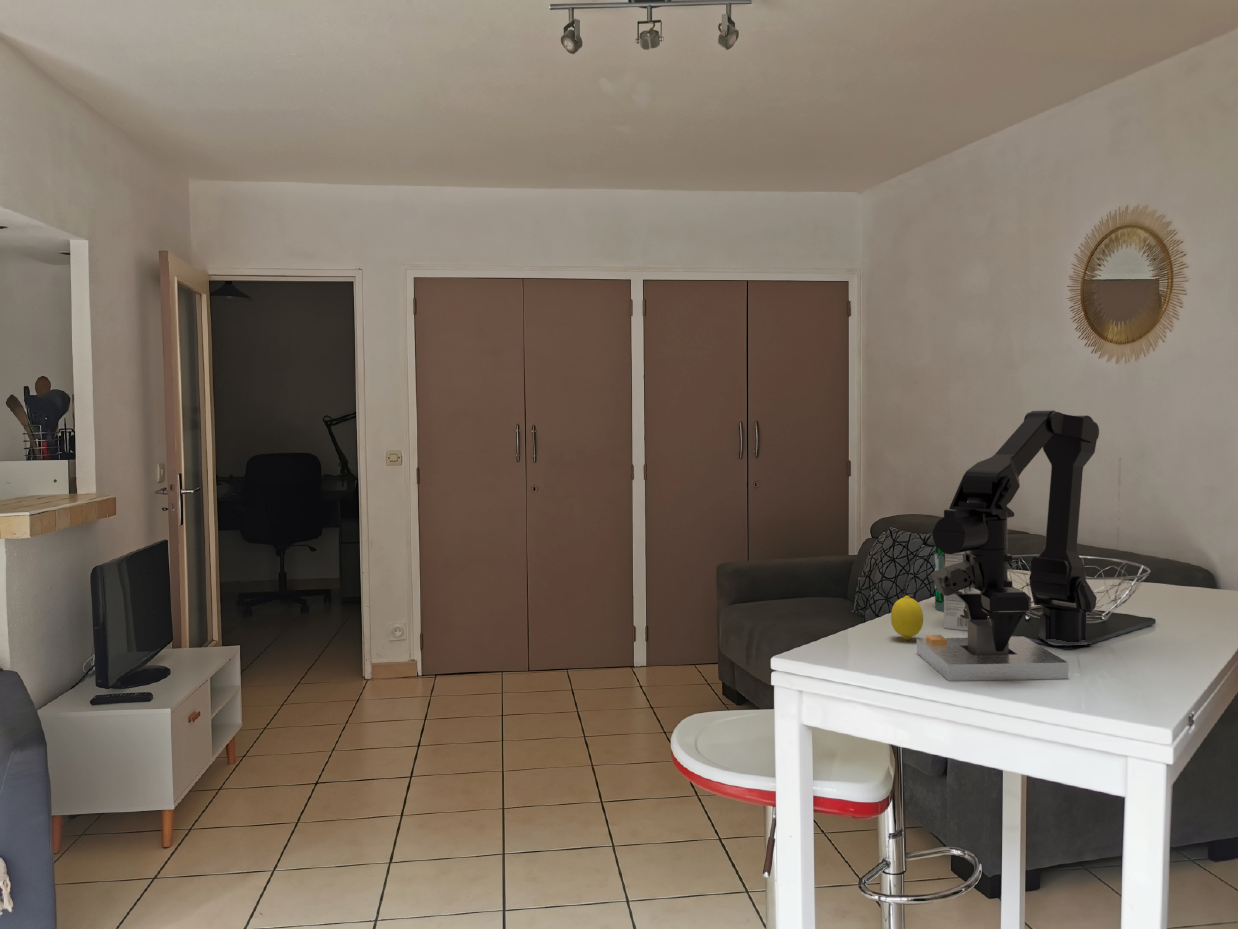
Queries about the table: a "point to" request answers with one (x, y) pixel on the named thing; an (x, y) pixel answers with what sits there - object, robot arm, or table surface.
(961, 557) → the coffee box
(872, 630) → the table surface
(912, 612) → the lemon
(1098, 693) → the table surface
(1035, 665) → the socket plate
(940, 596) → the can
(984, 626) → the plug
